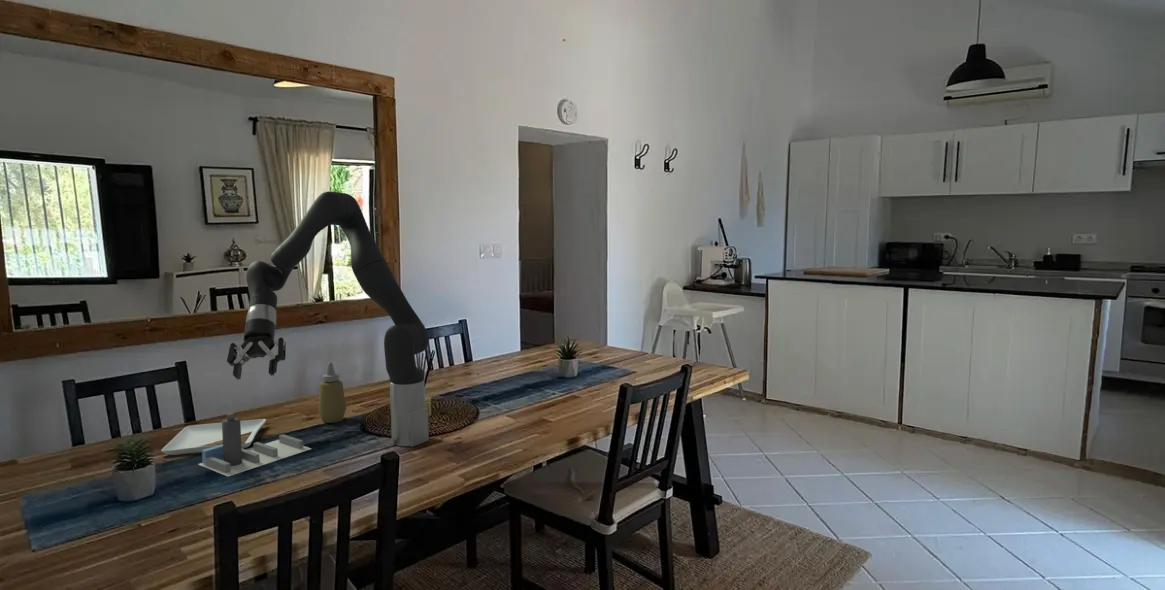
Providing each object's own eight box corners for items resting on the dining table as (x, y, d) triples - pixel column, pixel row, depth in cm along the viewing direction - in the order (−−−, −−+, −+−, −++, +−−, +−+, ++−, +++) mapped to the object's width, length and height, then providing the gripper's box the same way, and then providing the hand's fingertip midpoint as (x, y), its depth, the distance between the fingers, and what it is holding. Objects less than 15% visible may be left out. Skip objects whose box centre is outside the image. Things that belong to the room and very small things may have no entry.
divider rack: (311, 452, 169) (311, 435, 168) (228, 480, 151) (227, 462, 150) (281, 442, 176) (280, 426, 176) (198, 468, 158) (196, 450, 158)
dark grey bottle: (245, 462, 159) (243, 413, 158) (229, 467, 156) (227, 417, 154) (236, 459, 161) (234, 410, 160) (220, 464, 158) (218, 414, 156)
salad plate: (160, 462, 163) (159, 449, 162) (187, 436, 183) (186, 424, 183) (251, 454, 168) (250, 441, 168) (267, 429, 189) (267, 418, 188)
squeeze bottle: (328, 426, 190) (325, 367, 188) (313, 421, 195) (310, 363, 193) (352, 419, 197) (349, 362, 194) (337, 414, 201) (334, 359, 199)
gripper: (228, 320, 174) (220, 373, 165) (282, 314, 176) (277, 366, 167) (239, 333, 180) (231, 385, 172) (291, 328, 182) (287, 379, 173)
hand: (254, 376), depth 169 cm, fingers open, 8 cm apart
